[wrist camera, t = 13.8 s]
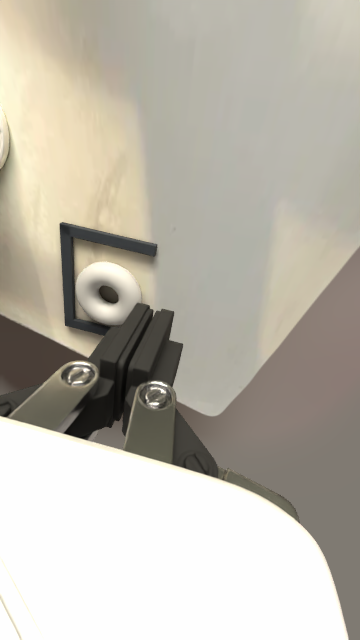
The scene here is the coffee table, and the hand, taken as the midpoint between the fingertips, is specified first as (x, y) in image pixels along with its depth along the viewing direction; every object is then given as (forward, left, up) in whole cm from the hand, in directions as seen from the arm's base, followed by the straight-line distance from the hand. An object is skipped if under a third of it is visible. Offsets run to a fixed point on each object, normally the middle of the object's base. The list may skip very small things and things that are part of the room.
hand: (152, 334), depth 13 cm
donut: (-12, -14, -27) cm, 33 cm away
